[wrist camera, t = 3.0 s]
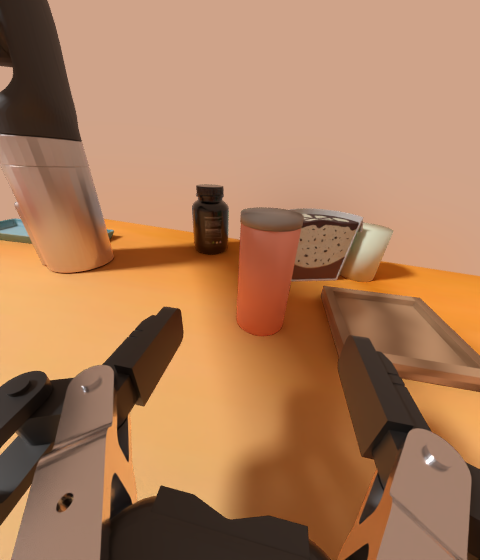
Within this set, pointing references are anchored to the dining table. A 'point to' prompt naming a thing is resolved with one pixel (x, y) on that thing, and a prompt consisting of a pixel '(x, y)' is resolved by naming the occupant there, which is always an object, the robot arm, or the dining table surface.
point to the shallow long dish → (20, 231)
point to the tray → (403, 336)
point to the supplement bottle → (210, 220)
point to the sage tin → (366, 253)
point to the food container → (324, 243)
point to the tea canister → (266, 267)
